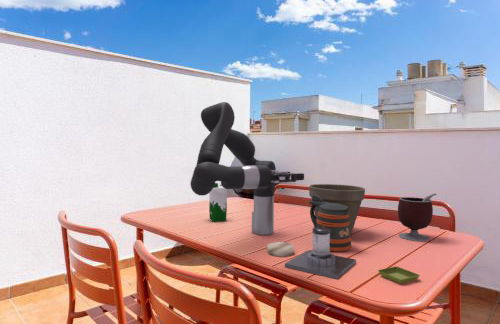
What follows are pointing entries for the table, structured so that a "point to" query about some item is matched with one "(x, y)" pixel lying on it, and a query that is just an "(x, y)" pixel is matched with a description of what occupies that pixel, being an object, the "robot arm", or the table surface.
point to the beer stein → (332, 222)
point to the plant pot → (340, 197)
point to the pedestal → (280, 249)
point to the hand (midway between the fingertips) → (296, 175)
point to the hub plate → (321, 269)
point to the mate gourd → (415, 216)
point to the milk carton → (218, 203)
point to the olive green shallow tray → (398, 274)
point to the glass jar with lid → (321, 242)
